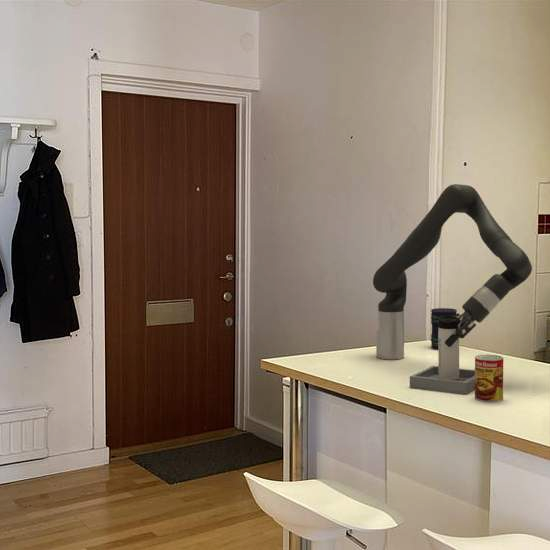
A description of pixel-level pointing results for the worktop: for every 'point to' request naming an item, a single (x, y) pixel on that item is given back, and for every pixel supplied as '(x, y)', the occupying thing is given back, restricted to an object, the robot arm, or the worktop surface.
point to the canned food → (489, 378)
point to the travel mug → (448, 349)
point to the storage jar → (435, 323)
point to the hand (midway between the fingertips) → (443, 342)
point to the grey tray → (443, 381)
